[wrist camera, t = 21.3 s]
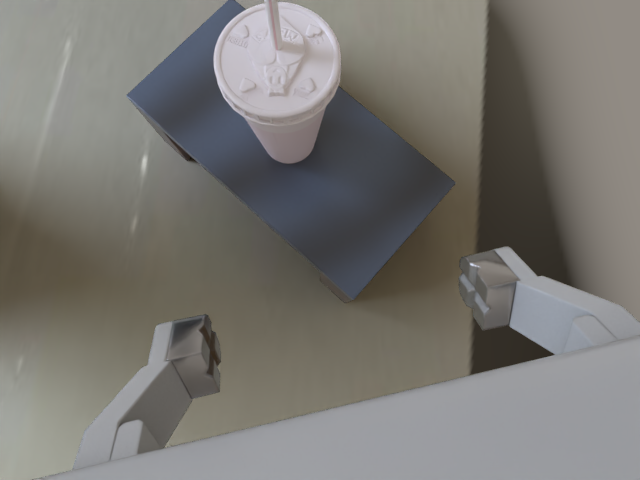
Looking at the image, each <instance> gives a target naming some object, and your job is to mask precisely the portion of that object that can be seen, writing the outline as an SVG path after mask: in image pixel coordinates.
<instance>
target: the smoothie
mask: <svg viewBox="0 0 640 480" xmlns="http://www.w3.org/2000/svg"><path fill="white" fill-rule="evenodd" d="M341 68H342V67H341V51H340V46H339V43H338V40H337V38H336V36H335V34H334V32H333V30H332V29H331V27H330V26H329V25H328V24H327V23H326V21H324V20H323V19H322V18H321V17H320V16H319V15H317V14H316V13H314V12H313V11H311V10H309V9H307V8H305V7H303V6H300V5H296V4H292V3H286V2H278V1H277V0H264V4H259V5H256V6H253V7H251V8H248V9H247V10H245V11H243V12H241V13H240V14H238V15H237V16H236V17H234V18H233V19H232V20H231V21H230V22H229V23H228V24H227V25H226V27H225V28H224V29H223V31H222V32H221V34H220V36H219V38H218V40H217V43H216V46H215V50H214V71H215V75H216V78H217V83H218V86H219V88H220V90H221V93H222V95H223V97H224V99H225V100H226V101H227V102H228V104H229V105H230V106H231V107H232V109H233V110H235V111H236V112H237V113H239V114H240V115H242V116H243V117H244V118H245V119H246V121H247V122H248V124H249V125H250V127H251V128H252V130H253V132H254V133H255V135H256V136H257V138H258V139H259V141H260V142H261V144H262V145H263V147H264V148H265V150H266V151H267V153H268V154H269V155H270V156H271V157H272V158H273V159H275V160H276V161H279V162H281V163H287V164H291V163H297V162H299V161H302V160H303V159H305V158H306V157H307V156H308V155H309V154H310V153H311V151H312V149H313V147H314V144H315V141H316V138H317V134H318V131H319V128H320V125H321V121H322V118H323V115H324V112H325V108H326V106H327V104H328V103H329V102H330V101H331V99H332V98H333V97H334V95H335V93H336V90H337V88H338V86H339V83H340V77H341Z"/></svg>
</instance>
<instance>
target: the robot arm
mask: <svg viewBox="0 0 640 480" xmlns="http://www.w3.org/2000/svg"><path fill="white" fill-rule="evenodd" d="M459 267H460V269H461V270H462V272H463V273H462V274H461V276H460V277H459V290H460V294H461V297H462V299H463V301H464V302H465V304H466V306H468V307H470V308H472V309H473V316H474V318H475V319H476V321H477V322H478V324H479V325H480V327H481V328H482V330H489V329H493V328H498V327H503V326H507V325H509V326H510V327H511V328H513V329H515V330H516V331H518V332H519V333H521V334H523V335H524V336H526V337H528V338H529V339H531V340H532V341H534V342H536V343H537V344H539V345H541V346H542V347H544V348H546V349H547V350H549V351H550V352H552V353H554V354H555V355H553V356H549V357H545V358H541V359H537V360H532V361H528V362H524V363H520V364H516V365H511V366H507V367H503V368H499V369H494V370H490V371H487V372H483V373H478V374H473V375H469V376H465V377H461V378H457V379H452V380H448V381H444V382H440V383H435V384H431V385H427V386H423V387H419V388H414V389H410V390H406V391H402V392H398V393H393V394H389V395H385V396H381V397H377V398H372V399H368V400H364V401H360V402H356V403H351V404H347V405H343V406H339V407H335V408H330V409H326V410H322V411H318V412H314V413H309V414H305V415H301V416H297V417H293V418H288V419H284V420H280V421H276V422H272V423H267V424H263V425H259V426H255V427H251V428H246V429H242V430H238V431H234V432H230V433H225V434H221V435H217V436H213V437H209V438H204V439H200V440H196V441H192V442H188V443H183V444H179V445H175V446H171V447H167V448H164V447H165V445H166V443H167V442H168V440H169V438H170V437H171V435H172V434H173V432H174V430H175V429H176V427H177V425H178V424H179V422H180V420H181V419H182V417H183V415H184V414H185V412H186V410H187V409H188V407H189V405H190V404H191V402H192V399H194V398H198V397H202V396H206V395H210V394H213V393H217V392H220V372H219V369H218V367H217V366H218V365H219V364H220V362H221V351H220V344H219V340H218V337H217V335H216V332H214V331H212V330H211V321H210V318H209V316H208V315H207V314H204V315H199V316H194V317H189V318H184V319H179V320H174V321H170V322H165V323H160V324H158V325H157V326H156V328H155V332H154V337H153V341H152V346H151V350H150V355H149V360H148V364H147V366H144V367H142V368H141V369H140V370H139V371H138V372H137V373H136V374H135V376H134V377H133V378H132V379H131V380H130V381H129V382H128V383H127V384H126V386H125V387H124V388H123V389H122V390H121V391H120V392H119V393H118V394H117V395H116V397H115V398H114V399H113V400H112V401H111V402H110V403H109V404H108V405H107V407H106V408H105V409H104V410H103V411H102V412H101V413H100V414H99V415H98V416H97V418H96V419H95V420H94V421H93V422H92V423H91V424H90V425H89V426H88V428H87V429H86V430H85V431H84V435H83V438H82V441H81V444H80V447H79V450H78V453H77V456H76V460H75V463H74V466H73V469H72V470H70V471H66V472H62V473H57V474H53V475H49V476H45V477H41V478H36V479H32V480H640V322H639V321H638V320H637V319H636V318H635V317H634V316H633V315H631V314H630V313H629V312H628V311H627V310H626V309H625V308H624V307H623V306H621V305H619V304H616V303H613V302H611V301H608V300H605V299H603V298H600V297H597V296H595V295H592V294H590V293H587V292H584V291H581V290H579V289H576V288H573V287H571V286H568V285H565V284H563V283H560V282H558V281H555V280H552V279H550V278H547V277H544V276H539V277H538V276H537V275H536V274H535V273H534V272H533V271H532V270H531V269H530V268H529V267H528V266H527V265H526V264H525V263H524V262H523V261H522V259H521V258H519V256H518V255H517V254H516V253H515V252H514V251H513V250H512V249H511V248H510V247H507V246H506V247H502V248H497V249H494V250H491V251H486V252H481V253H477V254H473V255H468V256H464V257H461V259H460V265H459Z"/></svg>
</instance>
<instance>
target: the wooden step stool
mask: <svg viewBox="0 0 640 480" xmlns="http://www.w3.org/2000/svg"><path fill="white" fill-rule="evenodd" d="M245 10H246V9H245V8H243V7H242V6H241V5H240V4H239V3H237V2H236V1H235V0H228V1H227V2H226V3H225V4H224V5H223V6H222V7H221V8H220V9H218V10H217V11H216V12H215V13H214V14H213V15H212V16H211V17H210V18H209V19H208V20H207V21H206V22H205V23H203V24H202V25H201V26H200V27H199V28H198V29H197V30H196V31H195V32H194V33H193V34H192V35H191V36H190V37H188V38H187V39H186V40H185V41H184V42H183V43H182V44H181V45H180V46H179V47H178V48H177V49H176V50H175V51H173V52H172V53H171V54H170V55H169V56H168V57H167V58H166V59H165V60H164V61H163V62H162V63H161V64H159V65H158V66H157V67H156V68H155V69H154V70H153V71H152V72H151V73H150V74H149V75H148V76H147V77H146V78H144V79H143V80H142V81H141V82H140V83H139V84H138V85H137V86H136V87H135V88H134V89H133V90H132V91H131V92H129V93H128V94H127V97H128V99H129V100H130V101H131V102H132V103H133V104H134V106H135V107H136V108H137V109H138V110H139V111H140V113H141V114H142V115H143V116H144V117H145V118H146V120H147V121H148V122H149V123H150V124H151V126H152V127H153V128H154V129H155V130H156V131H157V133H158V134H159V135H160V136H161V137H162V138H163V140H164V141H165V142H166V143H168V144H169V145H170V146H171V147H172V148H173V149H174V150H175V151H176V152H178V153H179V154H180V155H181V156H182V157H183V158H184V159H185V160H186V161H188V160H189V159H190V158H191V157H192V158H193V159H195V160H196V161H197V162H198V163H199V164H200V165H201V166H202V167H203V168H205V169H206V170H207V171H208V172H209V173H210V174H211V175H212V176H213V177H215V178H216V179H217V180H218V181H219V182H220V183H221V184H222V185H224V186H225V187H226V188H227V189H228V190H229V191H230V192H231V193H232V194H234V195H235V196H236V197H237V198H238V199H239V200H240V201H241V202H242V203H244V204H245V205H246V206H247V207H248V208H249V209H250V210H251V211H252V212H254V213H255V214H256V215H257V216H258V217H259V218H260V219H261V220H263V221H264V222H265V223H266V224H267V225H268V226H269V227H270V228H271V229H273V230H274V231H275V232H276V233H277V234H278V235H279V236H280V237H281V238H283V239H284V240H285V241H286V242H287V243H288V244H289V245H290V246H292V247H293V248H294V249H295V250H296V251H297V252H298V253H299V254H300V255H302V256H303V257H304V258H305V259H306V260H307V261H308V262H309V263H310V264H312V265H313V266H314V267H315V268H316V269H317V270H318V271H319V272H320V281H321V282H322V283H323V284H324V285H325V286H326V287H328V288H329V289H330V290H331V291H332V292H333V293H334V294H335V295H336V296H338V297H339V298H340V299H341V300H342V301H343V302H344V303H347V302H349V301H351V300H353V299H355V298H356V297H357V295H358V294H359V293H360V292H361V291H362V290H363V289H364V288H365V286H366V285H367V284H368V283H369V282H370V281H371V280H372V278H373V277H374V276H375V275H376V274H377V273H378V272H379V270H380V269H381V268H382V267H383V266H384V265H385V264H386V262H387V261H388V260H389V259H390V258H391V257H392V256H393V254H394V253H395V252H396V251H397V250H398V249H399V248H400V246H401V245H402V244H403V243H404V242H405V241H406V240H407V238H408V237H409V236H410V235H411V234H412V233H413V232H414V230H415V229H416V228H417V227H418V226H419V225H420V224H421V222H422V221H423V220H424V219H425V218H426V217H427V216H428V214H429V213H430V212H431V211H432V210H433V209H434V208H435V206H436V205H437V204H438V203H439V202H440V201H441V200H442V198H443V197H444V196H445V195H446V194H447V193H448V192H449V190H450V189H451V188H452V187H453V186H454V185H455V182H454V181H453V180H452V179H451V178H449V177H448V176H447V175H446V174H445V173H443V172H442V171H441V170H440V169H439V168H437V167H436V166H435V165H434V164H433V163H431V162H430V161H429V160H428V159H426V158H425V157H424V156H423V155H422V154H420V153H419V152H418V151H417V150H416V149H414V148H413V147H412V146H411V145H409V144H408V143H407V142H406V141H405V140H403V139H402V138H401V137H400V136H399V135H397V134H396V133H395V132H394V131H393V130H391V129H390V128H389V127H388V126H386V125H385V124H384V123H383V122H382V121H380V120H379V119H378V118H377V117H376V116H374V115H373V114H372V113H371V112H369V111H368V110H367V109H366V108H365V107H363V106H362V105H361V104H360V103H359V102H357V101H356V100H355V99H354V98H353V97H351V96H350V95H349V94H348V93H346V92H345V91H344V90H343V89H342V88H340V87H339V86H338V88H337V90H336V93H335V95H334V97H333V98H332V99H331V101H330V102H329V103H328V104H327V106H326V108H325V112H324V115H323V118H322V121H321V125H320V128H319V131H318V134H317V138H316V141H315V144H314V147H313V149H312V151H311V153H310V154H309V155H308V156H307V157H306V158H305V159H303V160H302V161H299V162H297V163H291V164H287V163H281V162H279V161H276V160H275V159H273V158H272V157H271V156H270V155H269V154H268V153H267V151H266V150H265V148H264V147H263V145H262V144H261V142H260V141H259V139H258V138H257V136H256V135H255V133H254V132H253V130H252V128H251V127H250V125H249V124H248V122H247V121H246V119H245V118H244V117H243V116H242V115H240V114H239V113H237V112H236V111H235V110H233V109H232V107H231V106H230V105H229V104H228V102H227V101H226V100H225V99H224V97H223V95H222V93H221V90H220V88H219V86H218V83H217V78H216V75H215V71H214V50H215V46H216V43H217V40H218V38H219V36H220V34H221V32H222V31H223V29H224V28H225V27H226V25H227V24H228V23H229V22H230V21H231V20H232V19H233V18H234V17H236V16H237V15H238V14H240V13H241V12H243V11H245Z"/></svg>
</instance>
